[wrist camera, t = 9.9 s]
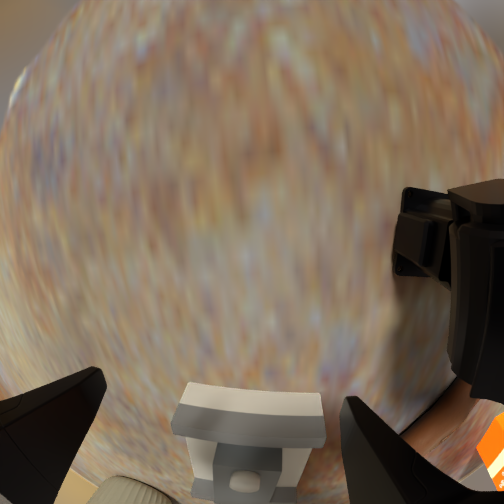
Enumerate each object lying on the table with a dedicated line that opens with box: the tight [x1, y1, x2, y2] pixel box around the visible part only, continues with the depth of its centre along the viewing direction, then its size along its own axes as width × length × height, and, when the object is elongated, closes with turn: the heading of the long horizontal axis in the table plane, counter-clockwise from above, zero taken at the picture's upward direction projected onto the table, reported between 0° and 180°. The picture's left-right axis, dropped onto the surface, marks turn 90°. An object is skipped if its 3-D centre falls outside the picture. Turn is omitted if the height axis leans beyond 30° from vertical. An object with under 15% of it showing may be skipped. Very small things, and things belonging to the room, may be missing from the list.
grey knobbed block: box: [212, 442, 282, 504], centre depth 19 cm, size 10×6×5 cm, turn 175°
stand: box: [171, 382, 327, 504], centre depth 22 cm, size 12×16×6 cm
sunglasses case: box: [400, 377, 480, 457], centre depth 21 cm, size 18×7×7 cm, turn 149°
